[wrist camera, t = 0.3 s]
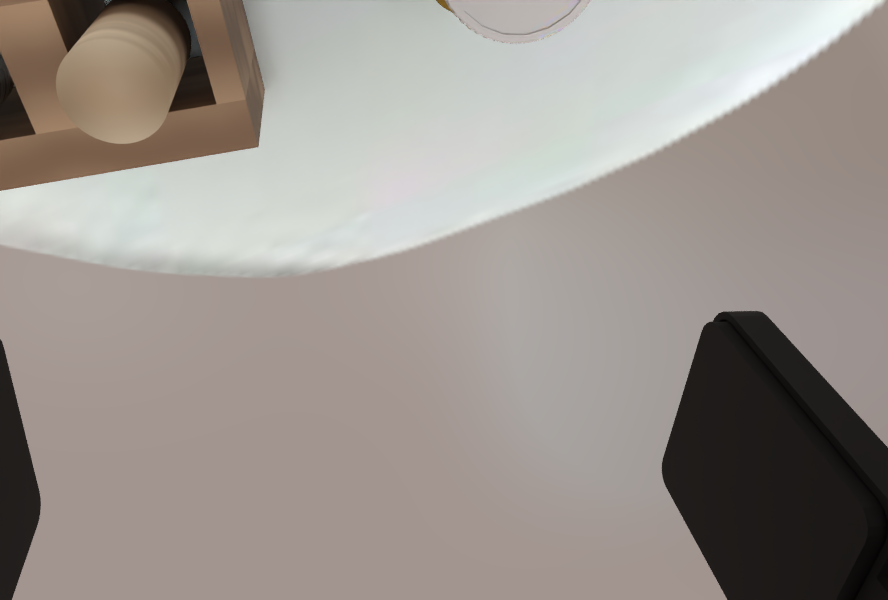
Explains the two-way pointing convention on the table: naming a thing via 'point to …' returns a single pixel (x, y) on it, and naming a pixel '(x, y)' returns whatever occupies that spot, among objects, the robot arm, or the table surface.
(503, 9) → the bottle
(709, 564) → the robot arm
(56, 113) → the socket block
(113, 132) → the peg birch
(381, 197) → the table surface
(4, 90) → the peg metal
